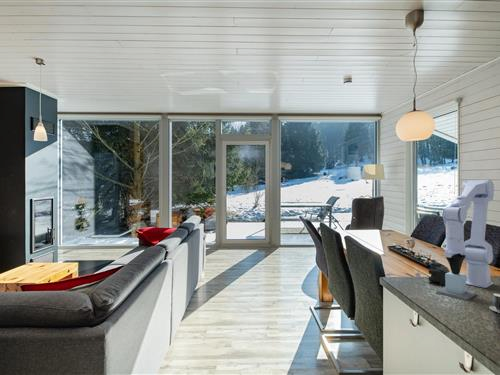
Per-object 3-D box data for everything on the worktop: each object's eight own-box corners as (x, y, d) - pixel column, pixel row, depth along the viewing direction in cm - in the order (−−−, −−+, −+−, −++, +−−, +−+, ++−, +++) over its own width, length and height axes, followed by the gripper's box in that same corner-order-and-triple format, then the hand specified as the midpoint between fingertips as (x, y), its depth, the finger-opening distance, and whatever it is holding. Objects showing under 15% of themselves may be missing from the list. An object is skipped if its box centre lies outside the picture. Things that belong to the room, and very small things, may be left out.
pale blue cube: (451, 288, 120) (450, 271, 120) (466, 291, 116) (465, 274, 116) (445, 290, 117) (445, 273, 117) (461, 294, 113) (460, 276, 113)
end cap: (448, 287, 125) (448, 270, 125) (428, 284, 129) (428, 268, 129) (450, 281, 133) (449, 265, 133) (431, 278, 137) (431, 263, 137)
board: (446, 288, 124) (446, 285, 124) (476, 294, 116) (476, 291, 116) (436, 293, 118) (436, 290, 118) (466, 300, 110) (466, 297, 110)
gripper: (450, 235, 124) (451, 268, 124) (435, 238, 116) (436, 274, 116) (471, 237, 119) (471, 271, 119) (456, 241, 110) (457, 278, 110)
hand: (455, 273), depth 117 cm, fingers closed
